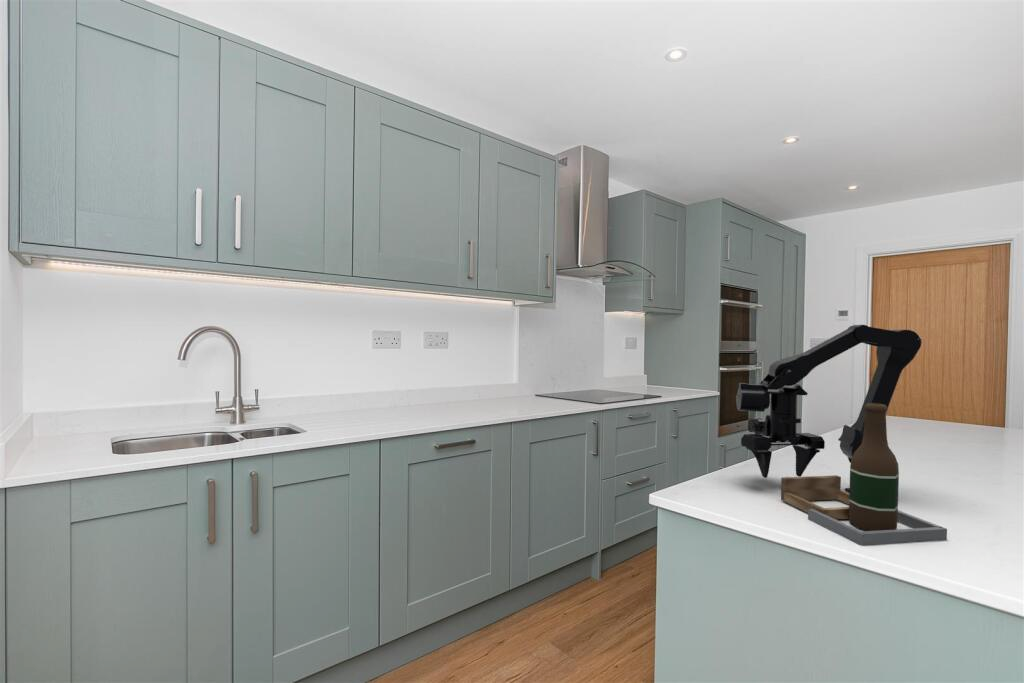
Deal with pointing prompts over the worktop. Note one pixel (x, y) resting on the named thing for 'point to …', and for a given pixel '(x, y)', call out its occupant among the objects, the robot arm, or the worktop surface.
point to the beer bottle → (874, 476)
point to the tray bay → (918, 533)
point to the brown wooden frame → (815, 494)
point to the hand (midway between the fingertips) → (781, 476)
